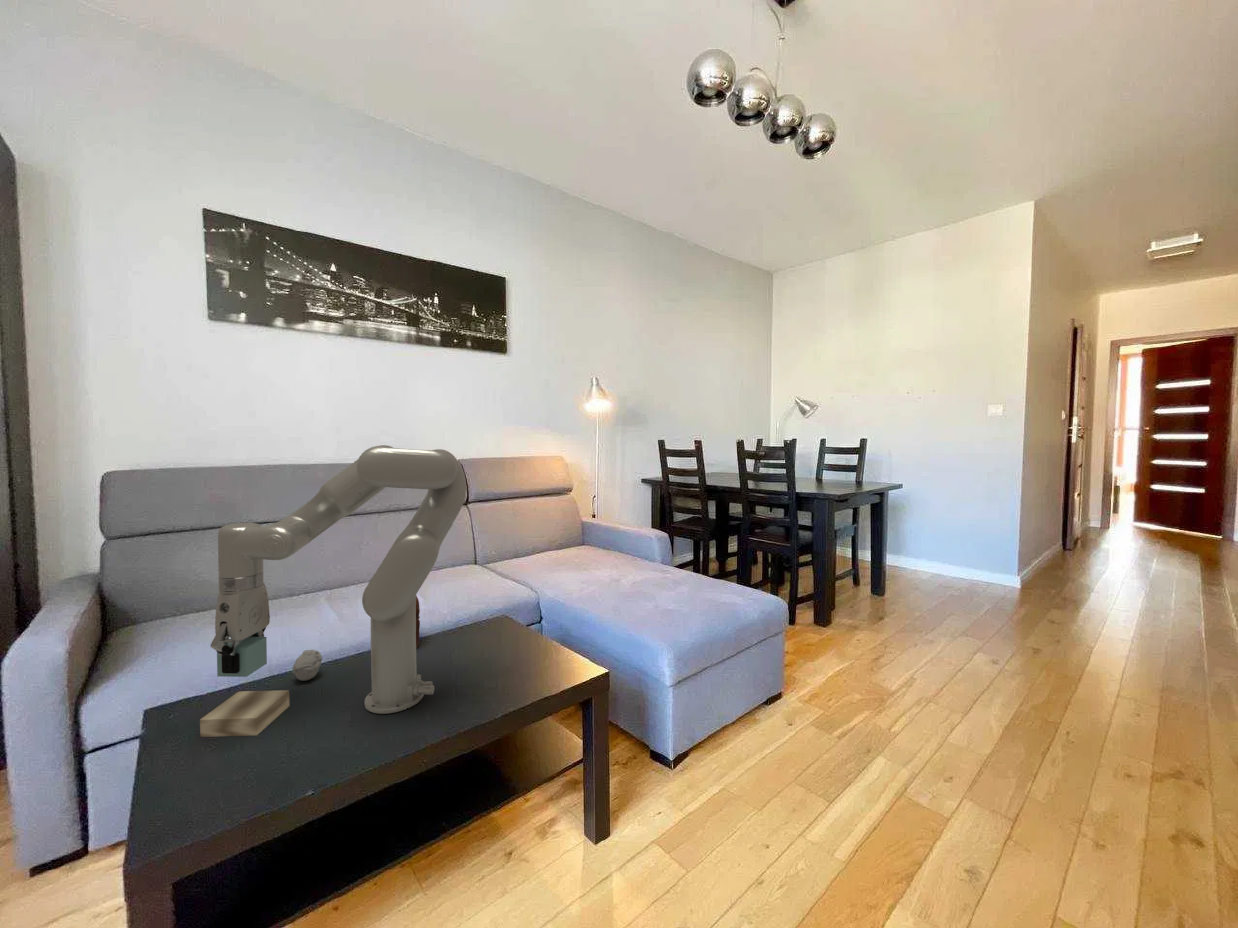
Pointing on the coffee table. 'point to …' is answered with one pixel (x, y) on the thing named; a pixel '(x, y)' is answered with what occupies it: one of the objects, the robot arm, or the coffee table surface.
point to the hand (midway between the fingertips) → (242, 664)
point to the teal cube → (247, 657)
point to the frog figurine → (307, 665)
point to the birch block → (244, 713)
